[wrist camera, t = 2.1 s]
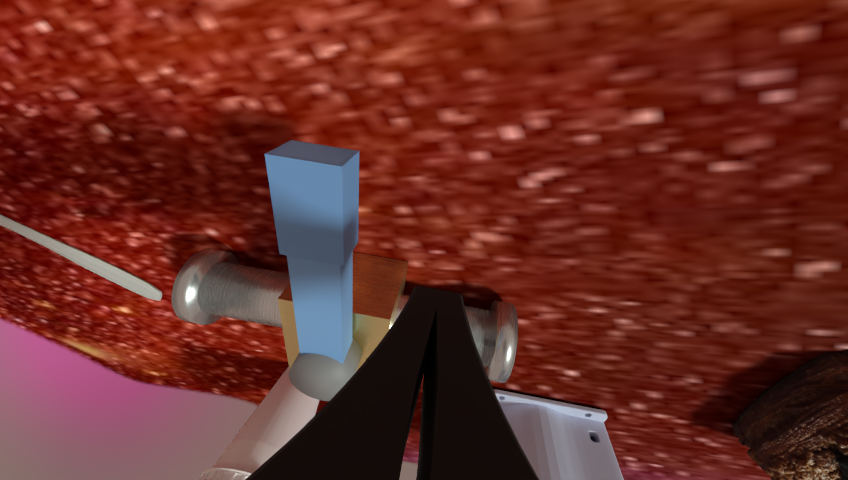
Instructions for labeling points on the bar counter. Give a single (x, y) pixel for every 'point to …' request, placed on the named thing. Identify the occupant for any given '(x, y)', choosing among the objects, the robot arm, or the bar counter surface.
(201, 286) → the valve pipe
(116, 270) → the butter knife
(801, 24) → the bar counter surface
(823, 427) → the pastry
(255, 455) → the smoothie
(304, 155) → the lever
